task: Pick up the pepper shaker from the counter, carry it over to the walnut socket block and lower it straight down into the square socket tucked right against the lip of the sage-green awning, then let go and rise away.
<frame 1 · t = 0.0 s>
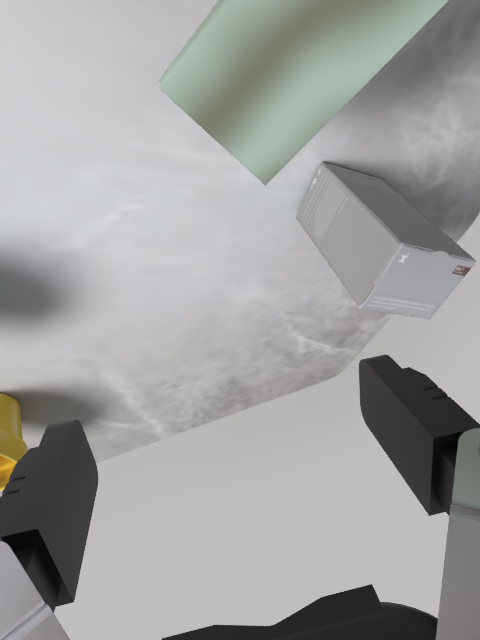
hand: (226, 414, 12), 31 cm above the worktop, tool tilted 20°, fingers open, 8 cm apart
skincare box: (341, 193, 45), on the worktop
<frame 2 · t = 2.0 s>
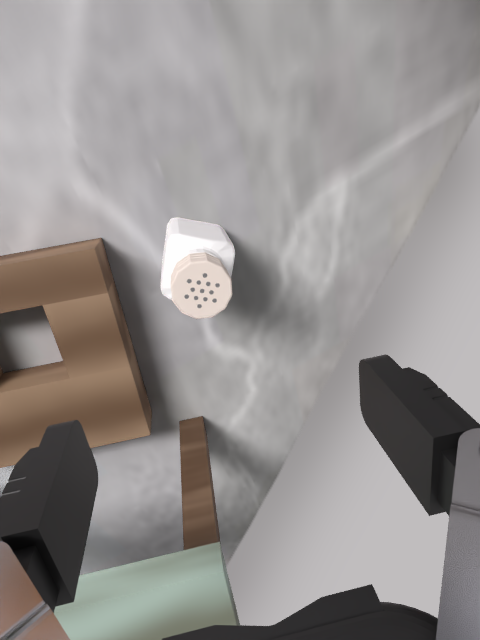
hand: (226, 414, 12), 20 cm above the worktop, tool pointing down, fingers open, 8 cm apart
pepper shaker: (192, 246, 30), on the worktop
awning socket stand: (27, 332, 31), on the worktop
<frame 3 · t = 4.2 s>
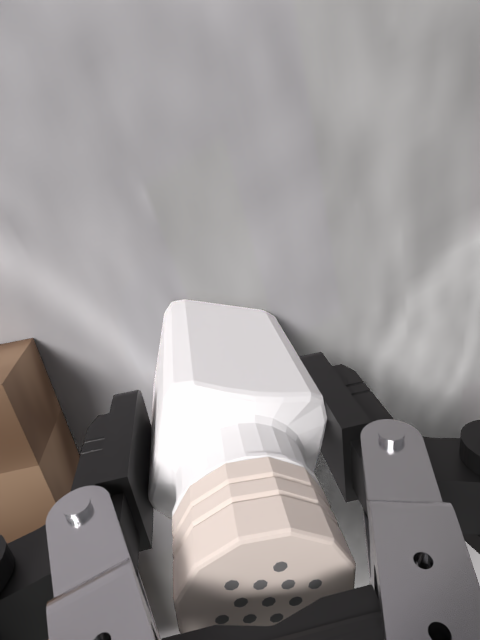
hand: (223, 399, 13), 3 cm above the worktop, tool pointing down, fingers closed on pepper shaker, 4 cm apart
pepper shaker: (212, 346, 16), on the worktop, touching gripper
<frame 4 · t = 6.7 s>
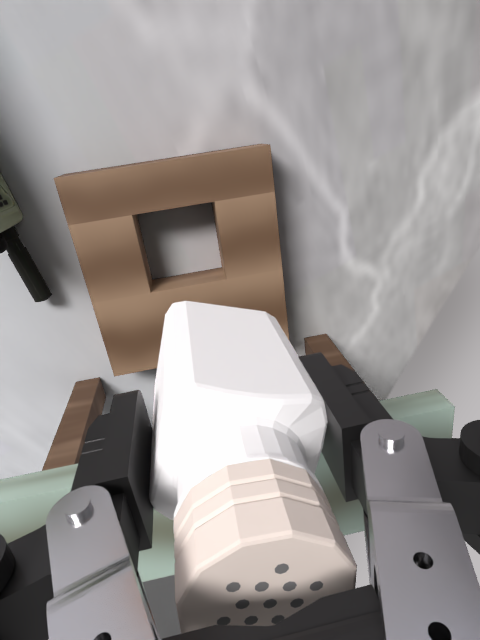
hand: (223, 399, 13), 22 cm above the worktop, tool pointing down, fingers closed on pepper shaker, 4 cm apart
pepper shaker: (213, 347, 16), point 18 cm above the worktop, touching gripper
skincare box: (141, 534, 44), on the worktop
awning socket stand: (180, 238, 32), on the worktop
when the fingers open (4 cm above the worktop, at t = 9.7 s): pepper shaker stays where it is, resting in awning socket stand.
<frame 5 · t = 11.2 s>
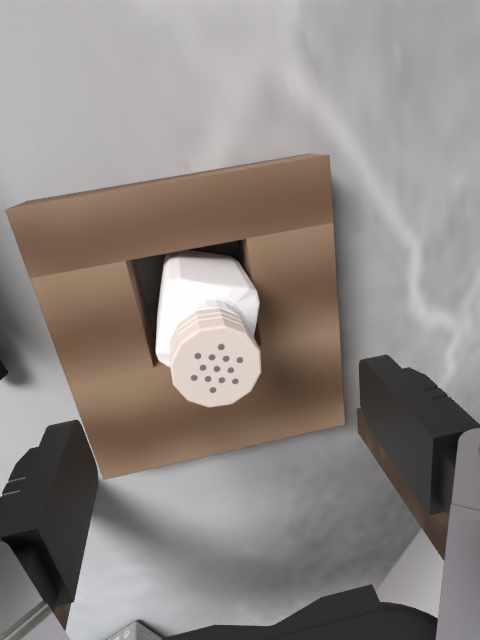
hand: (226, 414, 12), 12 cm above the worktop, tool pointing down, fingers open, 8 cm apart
pepper shaker: (197, 284, 23), resting in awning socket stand
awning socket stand: (194, 287, 23), on the worktop
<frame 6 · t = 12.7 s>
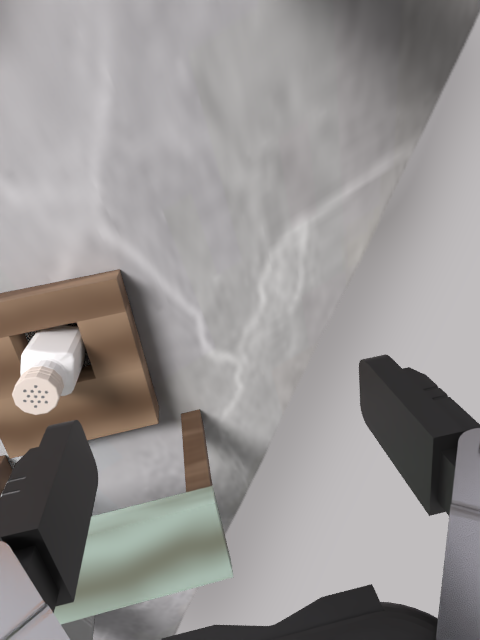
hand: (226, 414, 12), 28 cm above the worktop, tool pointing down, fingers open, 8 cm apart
pepper shaker: (64, 341, 40), resting in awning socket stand
skincare box: (58, 584, 50), on the worktop
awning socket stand: (61, 343, 39), on the worktop
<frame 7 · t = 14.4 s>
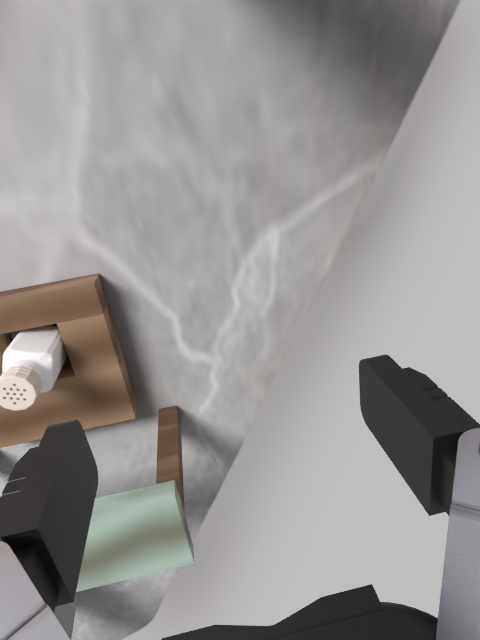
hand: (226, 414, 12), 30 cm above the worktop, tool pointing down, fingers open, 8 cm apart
pepper shaker: (47, 340, 42), resting in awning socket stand
skincare box: (44, 565, 53), on the worktop
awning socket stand: (44, 342, 42), on the worktop
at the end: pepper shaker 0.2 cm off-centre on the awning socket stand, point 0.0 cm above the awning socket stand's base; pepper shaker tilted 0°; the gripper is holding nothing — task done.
